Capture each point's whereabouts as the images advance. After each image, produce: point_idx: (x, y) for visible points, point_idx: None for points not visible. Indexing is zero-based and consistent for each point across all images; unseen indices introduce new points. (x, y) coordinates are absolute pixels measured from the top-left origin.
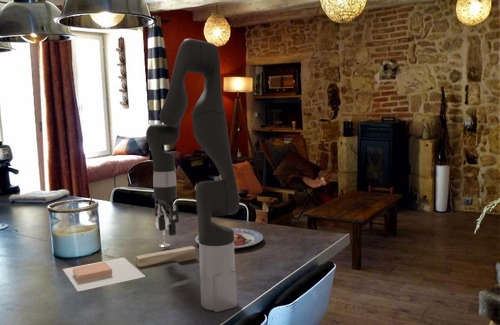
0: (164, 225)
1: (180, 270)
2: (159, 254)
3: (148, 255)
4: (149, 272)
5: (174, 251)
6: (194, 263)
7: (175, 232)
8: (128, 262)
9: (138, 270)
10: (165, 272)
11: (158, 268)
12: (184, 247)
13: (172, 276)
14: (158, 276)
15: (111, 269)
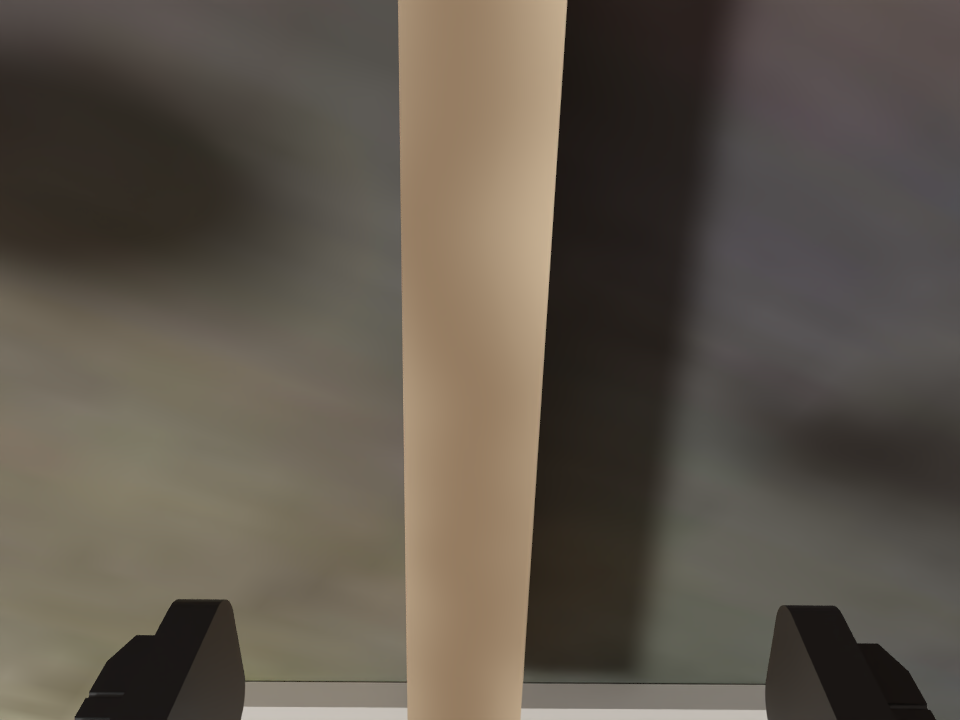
0: (197, 686)
1: (845, 336)
2: (516, 539)
3: (468, 647)
4: (656, 606)
5: (519, 331)
6: (744, 67)
7: (847, 635)
8: (316, 714)
9: (621, 711)
10: (775, 489)
11: (603, 503)
12: (410, 104)
13: (943, 475)
14: (829, 578)
15: None
